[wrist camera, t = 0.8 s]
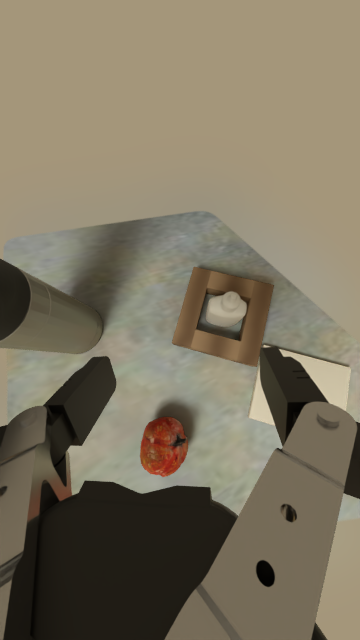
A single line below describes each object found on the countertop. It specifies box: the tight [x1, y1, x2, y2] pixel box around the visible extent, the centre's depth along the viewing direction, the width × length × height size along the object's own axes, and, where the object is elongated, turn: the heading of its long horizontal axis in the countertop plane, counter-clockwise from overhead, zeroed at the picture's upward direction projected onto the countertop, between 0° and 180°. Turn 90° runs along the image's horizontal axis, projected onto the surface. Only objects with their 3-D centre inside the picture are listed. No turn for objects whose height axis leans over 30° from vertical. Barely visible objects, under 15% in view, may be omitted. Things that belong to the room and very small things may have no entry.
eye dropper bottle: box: [206, 292, 247, 327], centre depth 31 cm, size 4×6×12 cm
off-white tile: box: [248, 345, 351, 425], centre depth 33 cm, size 14×12×1 cm
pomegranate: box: [140, 417, 188, 477], centre depth 31 cm, size 7×7×10 cm
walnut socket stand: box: [172, 267, 274, 367], centre depth 36 cm, size 14×14×3 cm
